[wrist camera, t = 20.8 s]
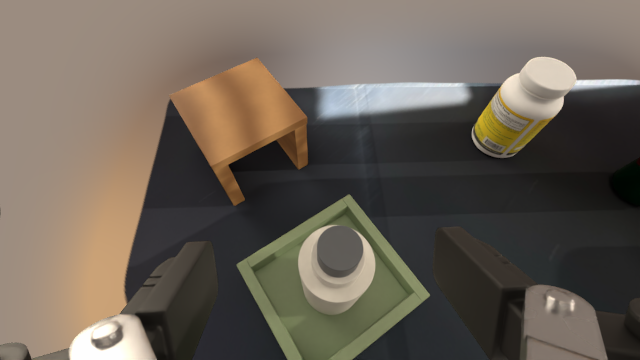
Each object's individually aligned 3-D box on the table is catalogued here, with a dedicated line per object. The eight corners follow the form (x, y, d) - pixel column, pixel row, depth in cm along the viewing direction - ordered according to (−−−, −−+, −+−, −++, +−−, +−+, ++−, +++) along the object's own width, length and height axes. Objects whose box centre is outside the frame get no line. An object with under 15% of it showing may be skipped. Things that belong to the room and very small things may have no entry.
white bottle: (323, 327, 27) (329, 315, 16) (292, 276, 30) (278, 235, 19) (370, 292, 29) (404, 259, 18) (337, 245, 31) (349, 191, 20)
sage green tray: (308, 390, 26) (307, 396, 23) (243, 272, 31) (236, 264, 28) (419, 300, 30) (430, 295, 27) (346, 207, 35) (349, 193, 32)
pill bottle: (512, 122, 41) (573, 52, 31) (524, 161, 38) (595, 98, 28) (465, 119, 41) (512, 49, 31) (473, 158, 38) (527, 93, 28)
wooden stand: (235, 207, 35) (210, 166, 27) (199, 146, 38) (168, 95, 31) (309, 165, 37) (307, 116, 29) (268, 112, 41) (257, 57, 33)
